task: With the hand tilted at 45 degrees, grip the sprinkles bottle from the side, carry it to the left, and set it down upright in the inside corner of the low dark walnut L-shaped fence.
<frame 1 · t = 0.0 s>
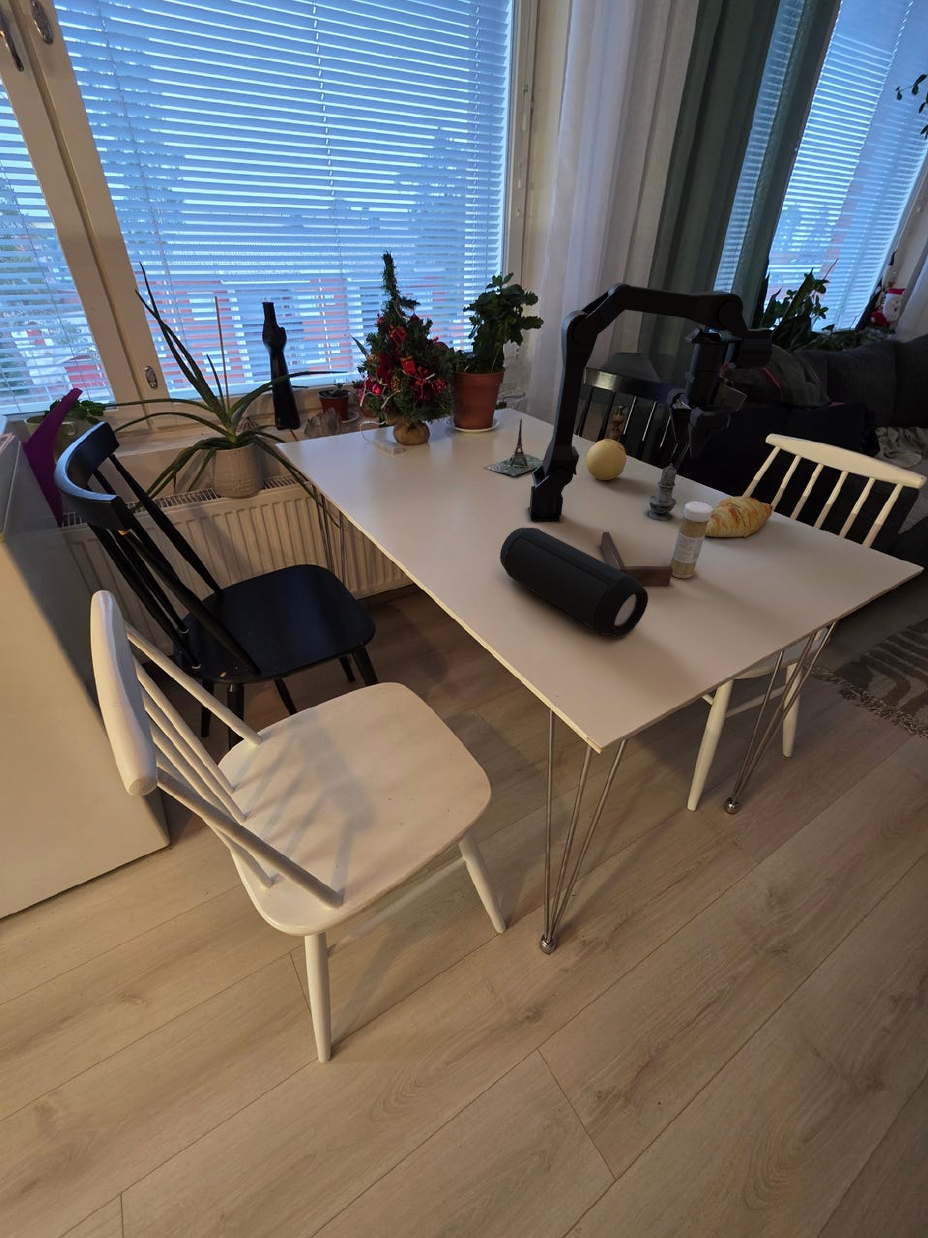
hand: (685, 450, 109), 15 cm above the table, tool pointing down, fingers open, 9 cm apart
sprinkles bottle: (680, 574, 98), on the table
portable speaker: (564, 604, 90), on the table
croissant: (732, 528, 113), on the table
eiffel tower figurine: (519, 467, 143), on the table
grey stone chess piece: (659, 516, 118), on the table
stress ball: (602, 479, 136), on the table
corner fence: (619, 584, 95), on the table
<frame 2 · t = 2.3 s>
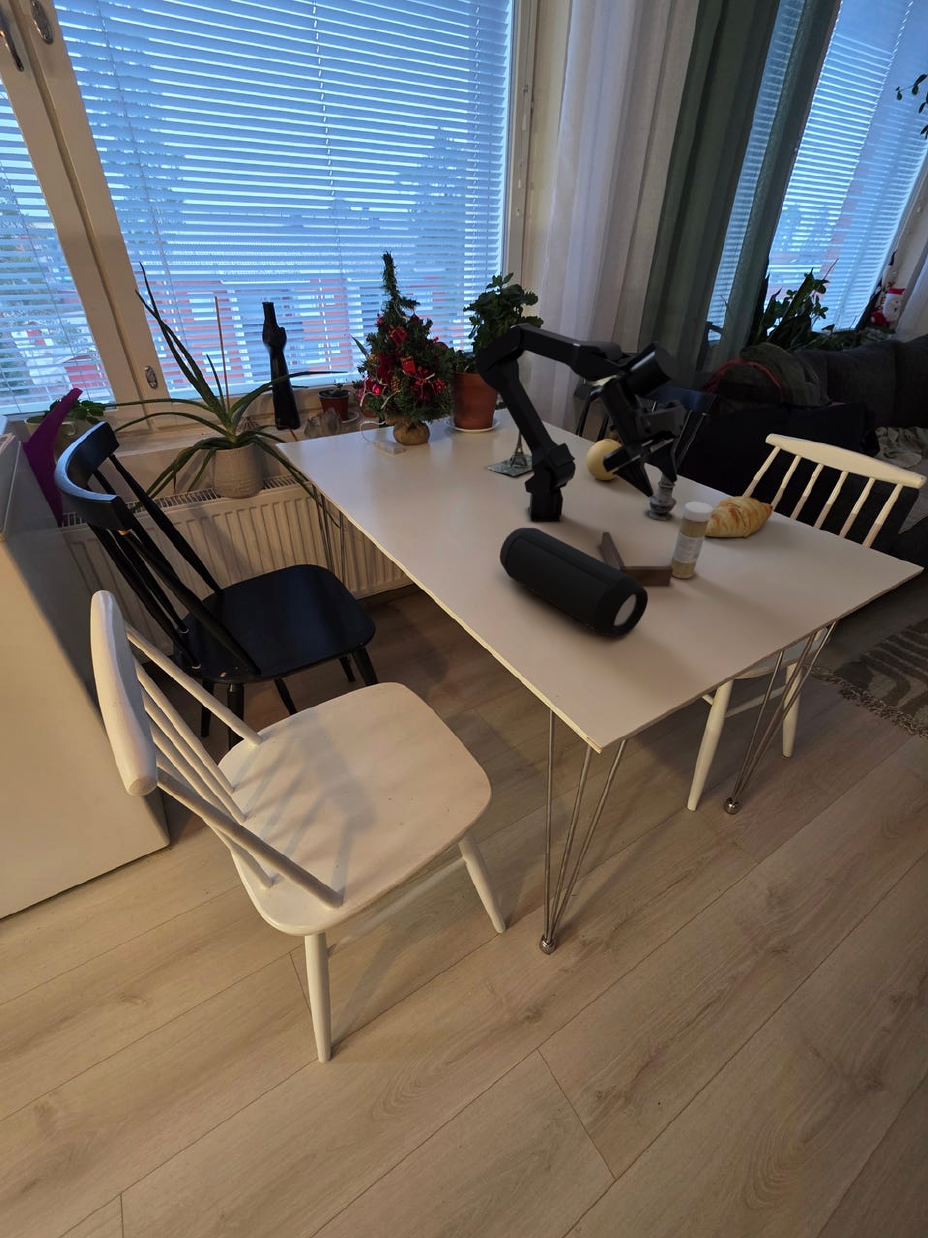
hand: (663, 488, 96), 14 cm above the table, tool tilted 40°, fingers open, 9 cm apart
nothing on the table moved.
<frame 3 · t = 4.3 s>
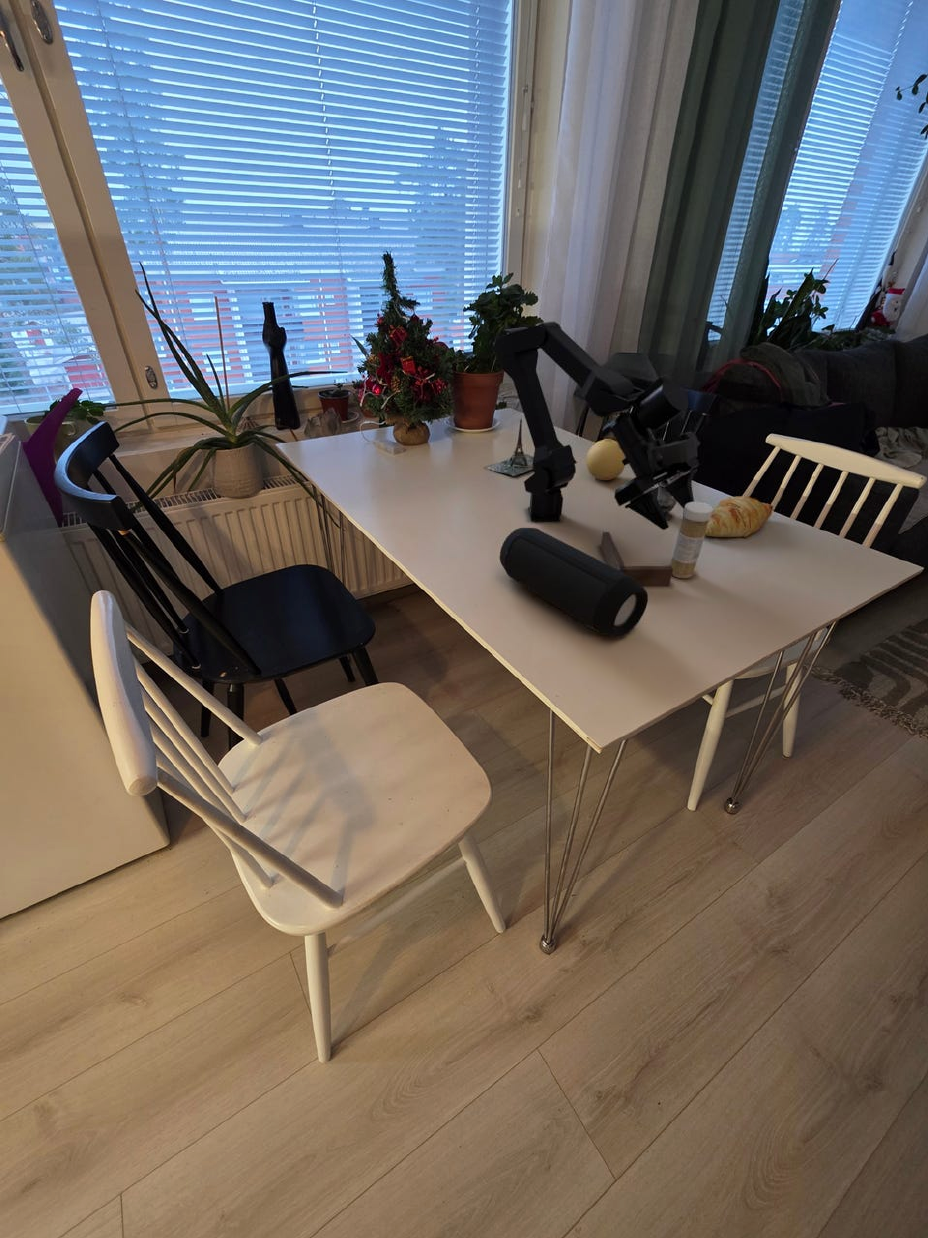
hand: (680, 520, 94), 10 cm above the table, tool tilted 45°, fingers open, 9 cm apart
nothing on the table moved.
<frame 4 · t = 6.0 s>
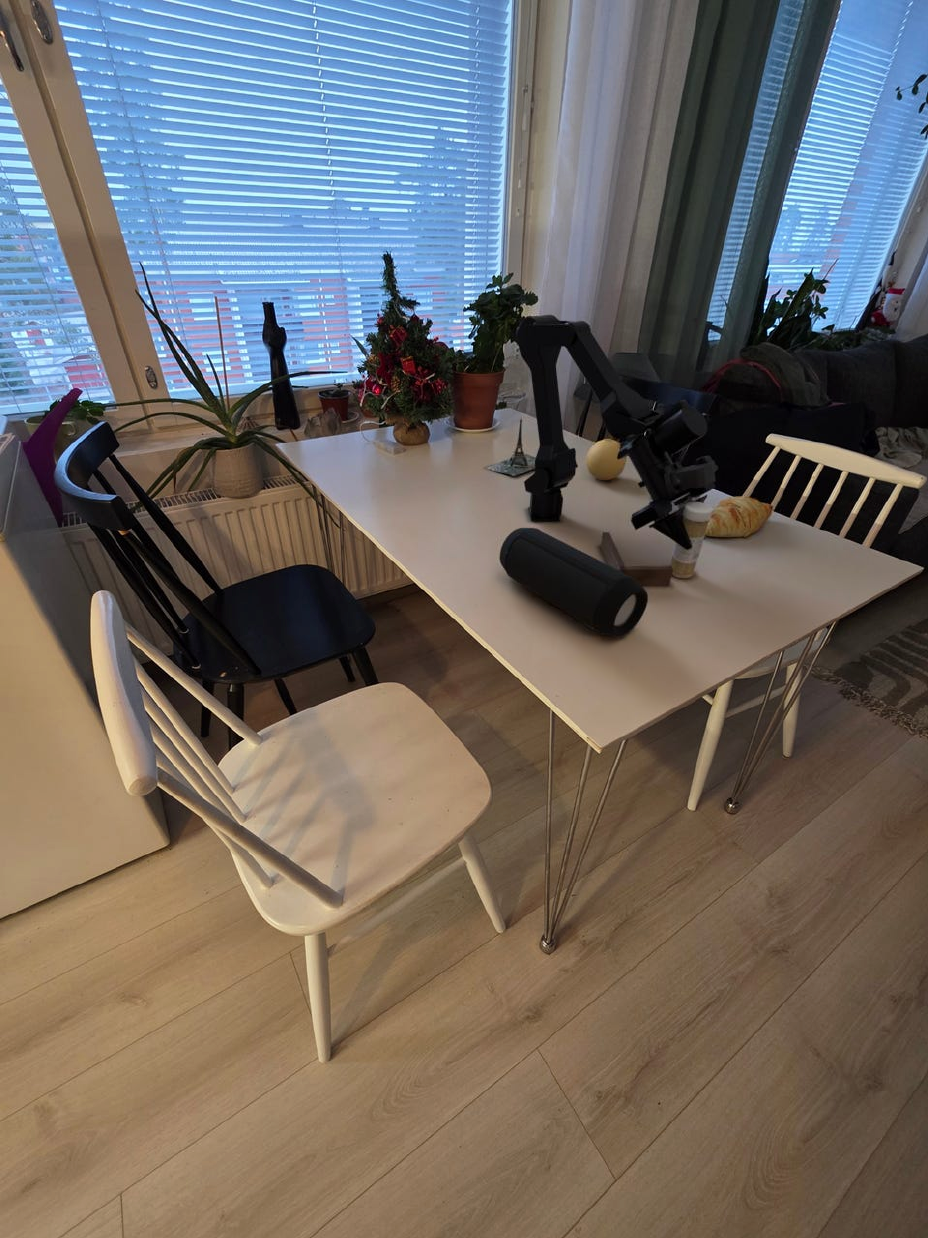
hand: (696, 544, 93), 7 cm above the table, tool tilted 45°, fingers closed on sprinkles bottle, 4 cm apart
sprinkles bottle: (680, 574, 98), on the table, touching gripper
everything else where it was.
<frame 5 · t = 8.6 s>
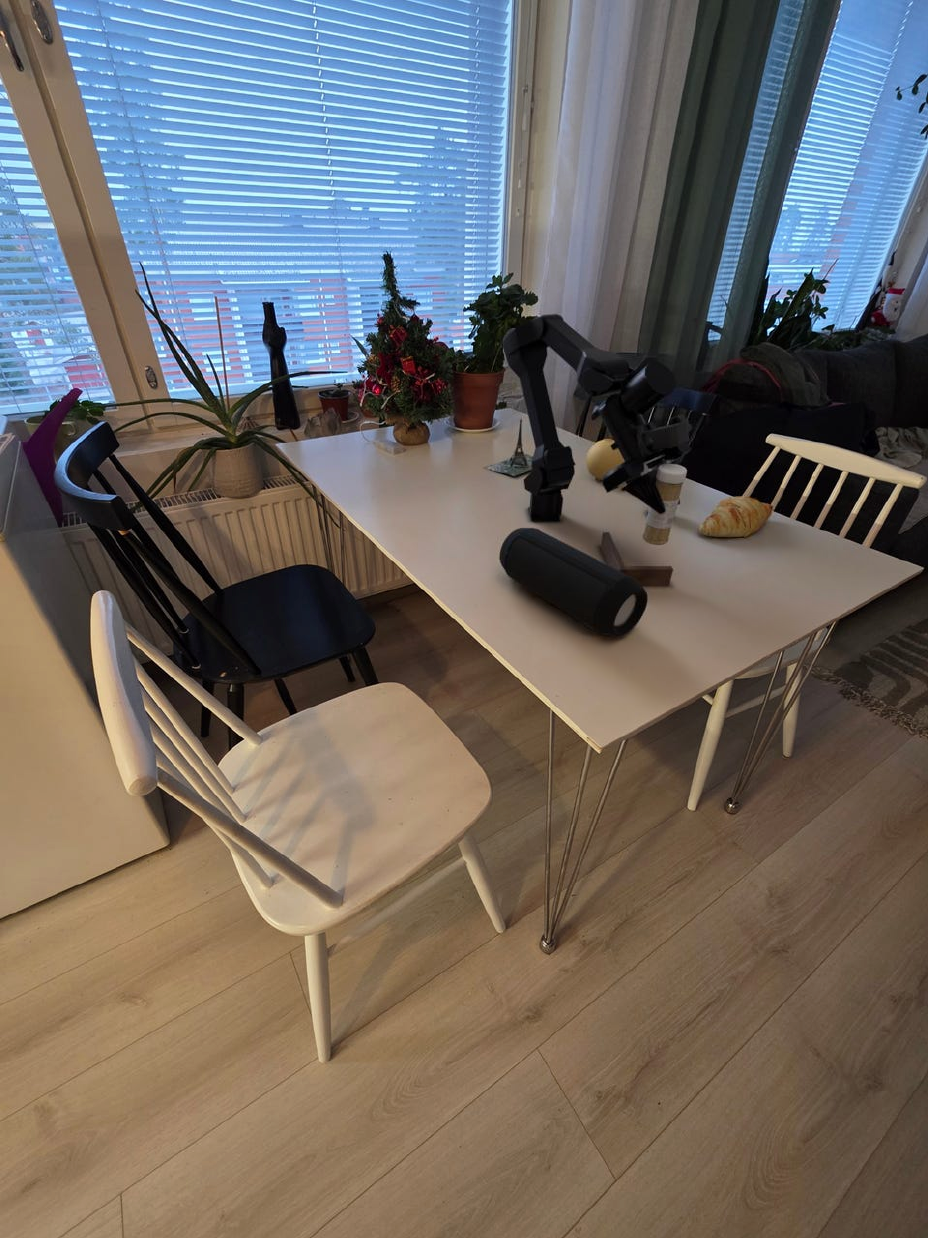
hand: (670, 508, 90), 13 cm above the table, tool tilted 45°, fingers closed on sprinkles bottle, 4 cm apart
sprinkles bottle: (654, 541, 95), point 6 cm above the table, touching gripper
everything else where it was.
when the fingers open (7 cm above the table, at t = 11.1 s): sprinkles bottle stays where it is, on the table.
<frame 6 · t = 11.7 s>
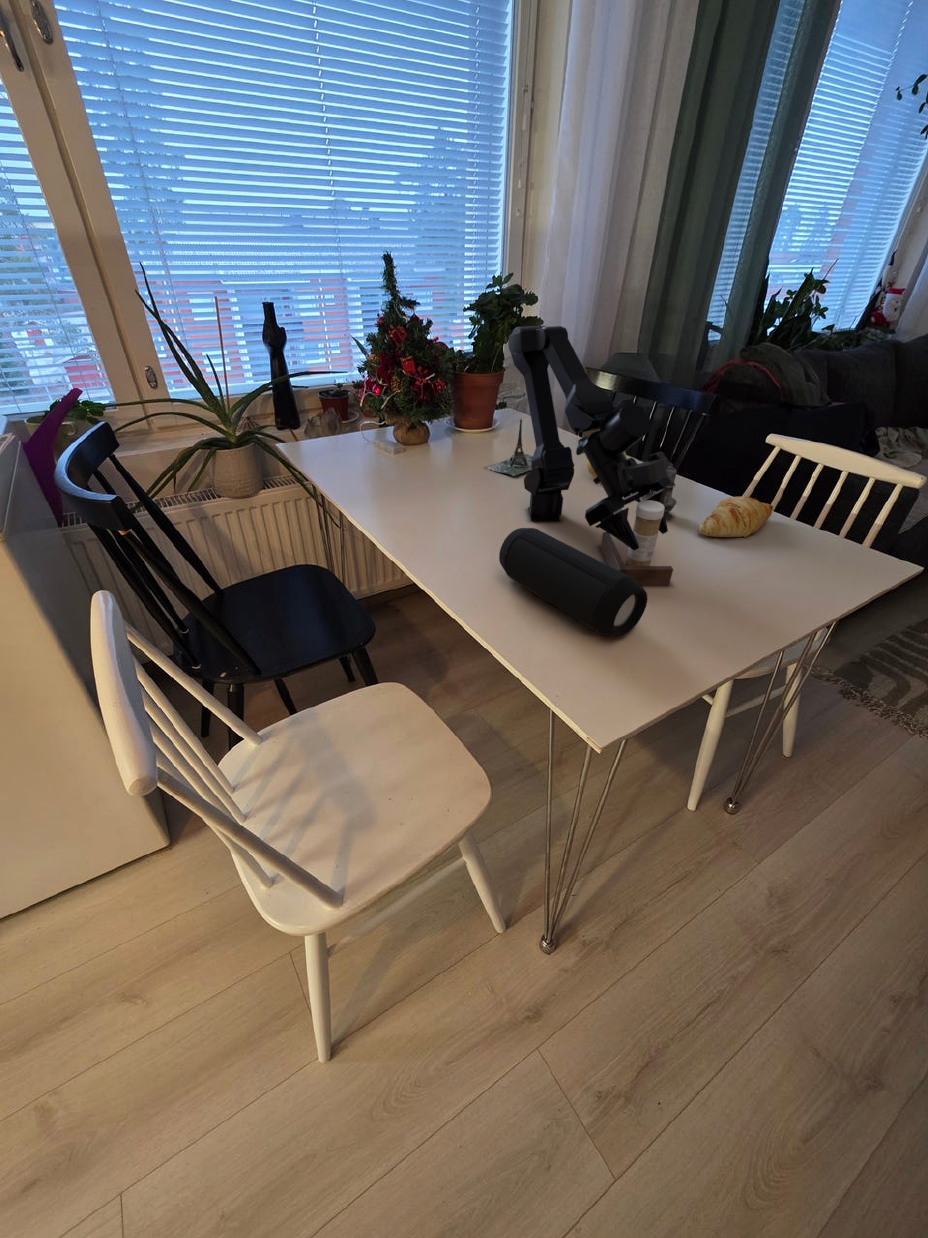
hand: (651, 540, 93), 7 cm above the table, tool tilted 45°, fingers open, 9 cm apart
sprinkles bottle: (636, 572, 99), on the table
everything else where it was.
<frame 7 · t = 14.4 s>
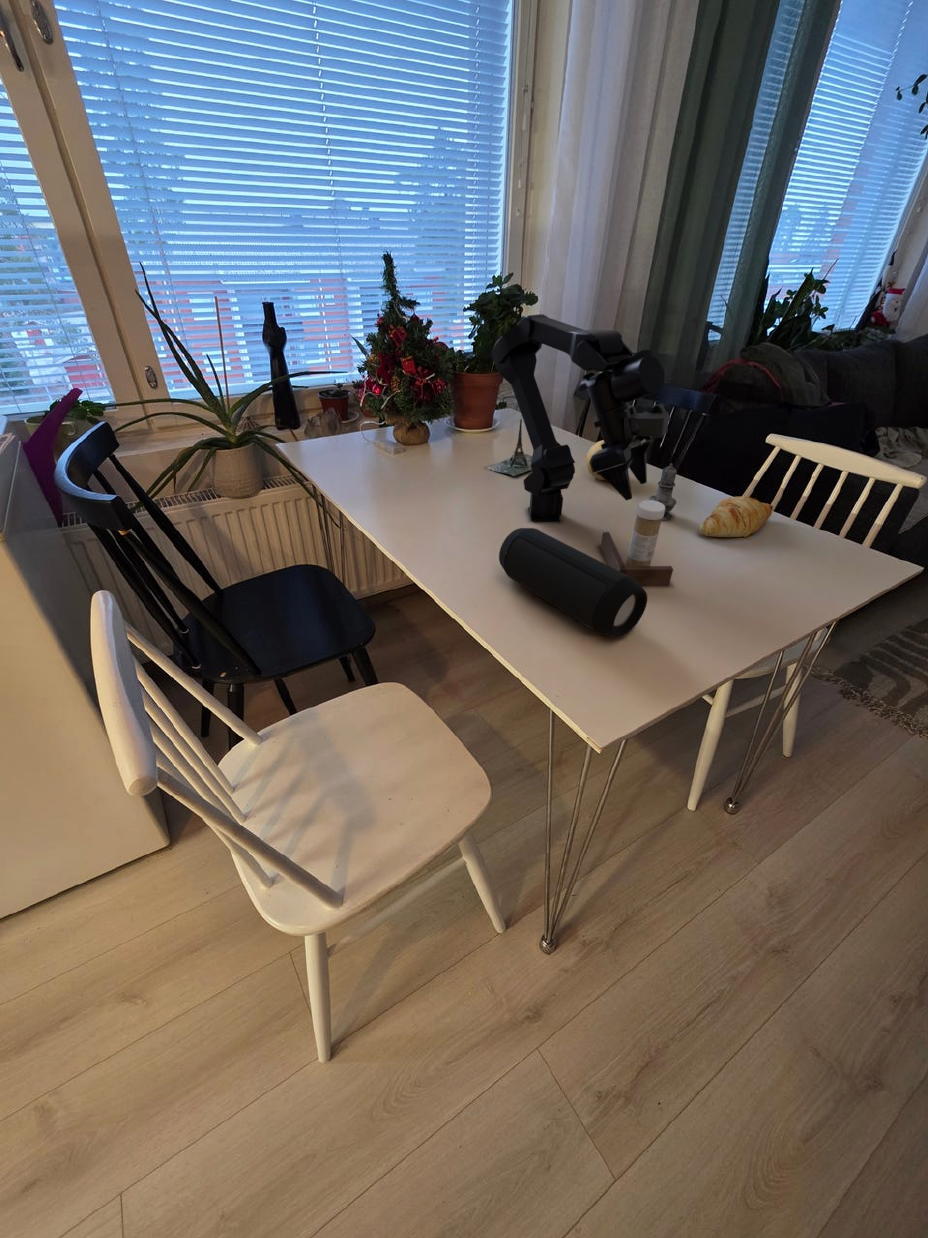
hand: (636, 491, 98), 12 cm above the table, tool tilted 30°, fingers open, 9 cm apart
nothing on the table moved.
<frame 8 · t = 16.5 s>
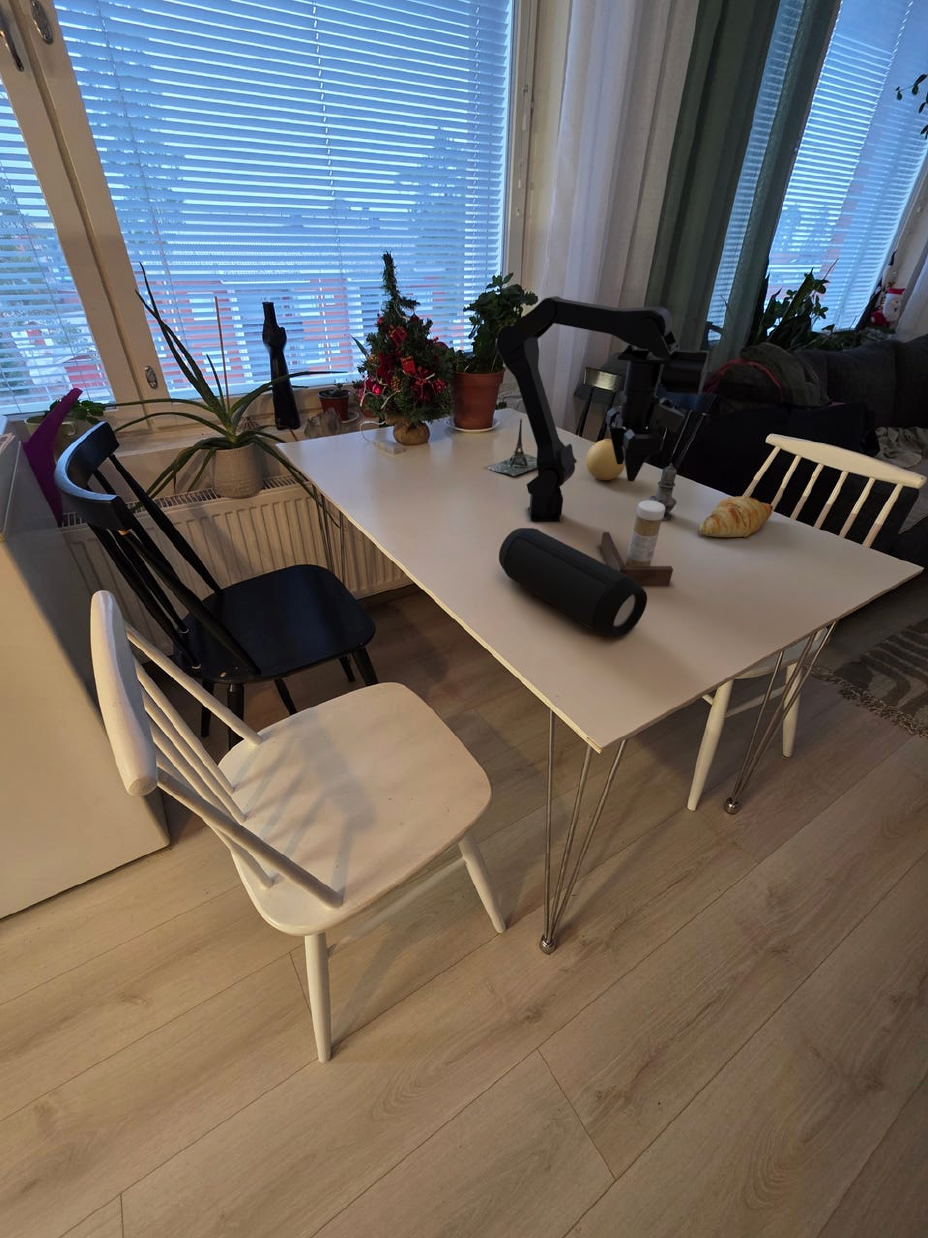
hand: (625, 472, 104), 13 cm above the table, tool pointing down, fingers open, 9 cm apart
nothing on the table moved.
at the end: sprinkles bottle 0.8 cm from the target spot, on the table; sprinkles bottle tilted 1°; the gripper is holding nothing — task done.
